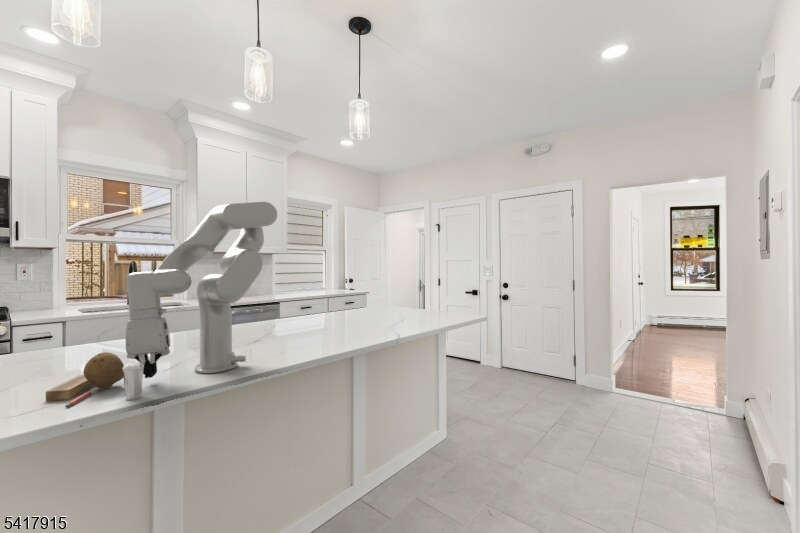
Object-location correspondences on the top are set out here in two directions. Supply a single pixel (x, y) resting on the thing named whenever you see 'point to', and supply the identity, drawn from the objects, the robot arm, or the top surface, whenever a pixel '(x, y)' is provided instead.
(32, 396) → the top surface
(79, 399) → the carpenter pencil
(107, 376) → the coconut
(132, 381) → the milkshake
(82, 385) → the batten
